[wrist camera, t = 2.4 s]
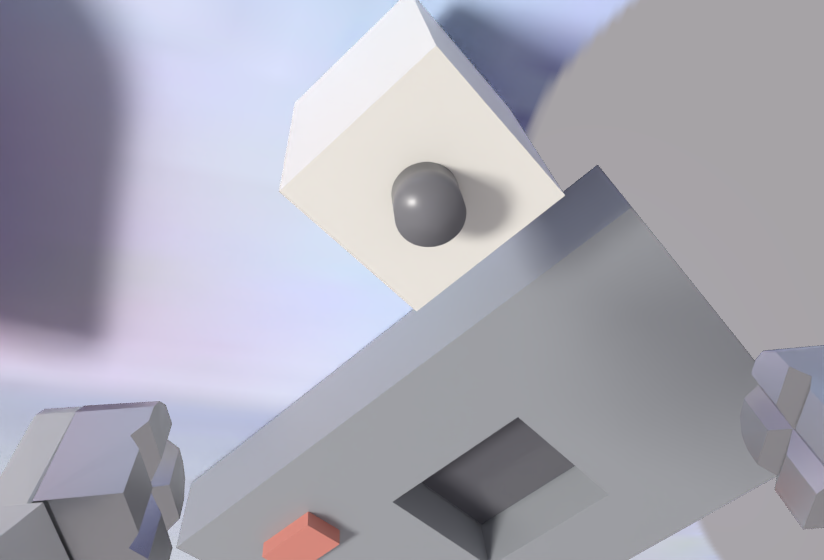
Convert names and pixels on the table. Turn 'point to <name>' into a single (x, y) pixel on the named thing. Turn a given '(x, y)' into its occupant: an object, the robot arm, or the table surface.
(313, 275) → the table surface
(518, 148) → the plug
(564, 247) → the socket plate
